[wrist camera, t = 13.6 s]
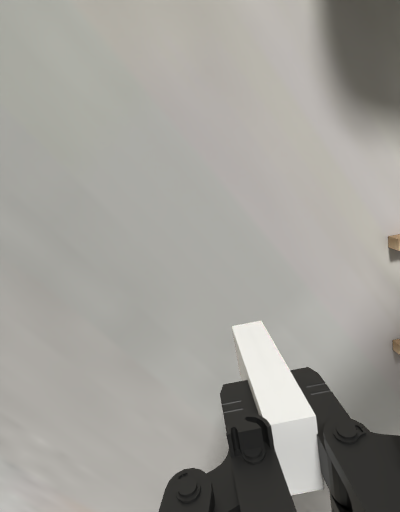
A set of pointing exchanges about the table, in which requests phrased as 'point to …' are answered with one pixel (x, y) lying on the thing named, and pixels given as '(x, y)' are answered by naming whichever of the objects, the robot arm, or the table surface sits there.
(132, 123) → the table surface
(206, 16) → the table surface
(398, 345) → the oak channel
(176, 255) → the table surface
